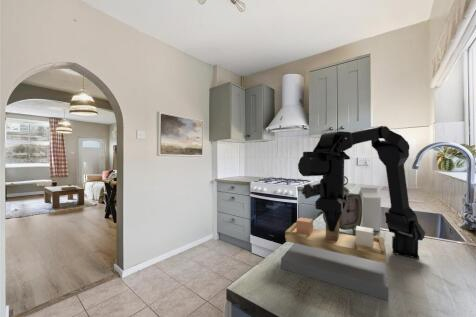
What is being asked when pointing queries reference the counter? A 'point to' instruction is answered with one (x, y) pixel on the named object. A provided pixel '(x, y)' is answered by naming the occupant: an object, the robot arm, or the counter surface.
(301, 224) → the block
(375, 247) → the tray
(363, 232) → the block
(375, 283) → the grey flat slab
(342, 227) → the tabletop clock
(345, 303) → the counter surface
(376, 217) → the milk carton
